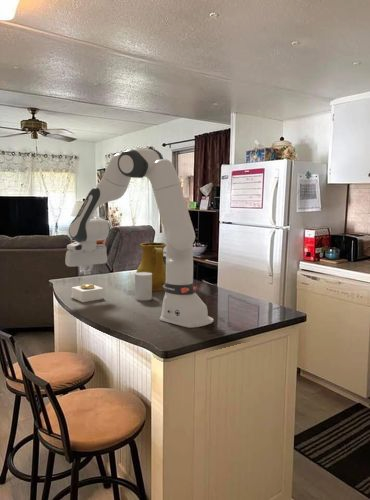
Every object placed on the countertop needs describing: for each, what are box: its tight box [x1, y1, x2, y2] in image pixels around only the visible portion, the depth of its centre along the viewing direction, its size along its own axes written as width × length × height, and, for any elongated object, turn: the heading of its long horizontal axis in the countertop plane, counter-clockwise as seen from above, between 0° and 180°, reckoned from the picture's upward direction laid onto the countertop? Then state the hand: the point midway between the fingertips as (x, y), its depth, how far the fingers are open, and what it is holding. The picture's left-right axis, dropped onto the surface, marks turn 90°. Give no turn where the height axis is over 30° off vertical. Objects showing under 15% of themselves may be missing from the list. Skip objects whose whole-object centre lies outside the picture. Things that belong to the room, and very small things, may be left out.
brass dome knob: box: [80, 283, 95, 290], centre depth 188 cm, size 6×6×6 cm
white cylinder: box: [134, 272, 153, 301], centre depth 190 cm, size 8×8×12 cm
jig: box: [71, 284, 105, 303], centre depth 188 cm, size 11×11×5 cm
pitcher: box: [135, 241, 166, 292], centre depth 208 cm, size 17×19×25 cm
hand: (87, 274), depth 187 cm, fingers closed
